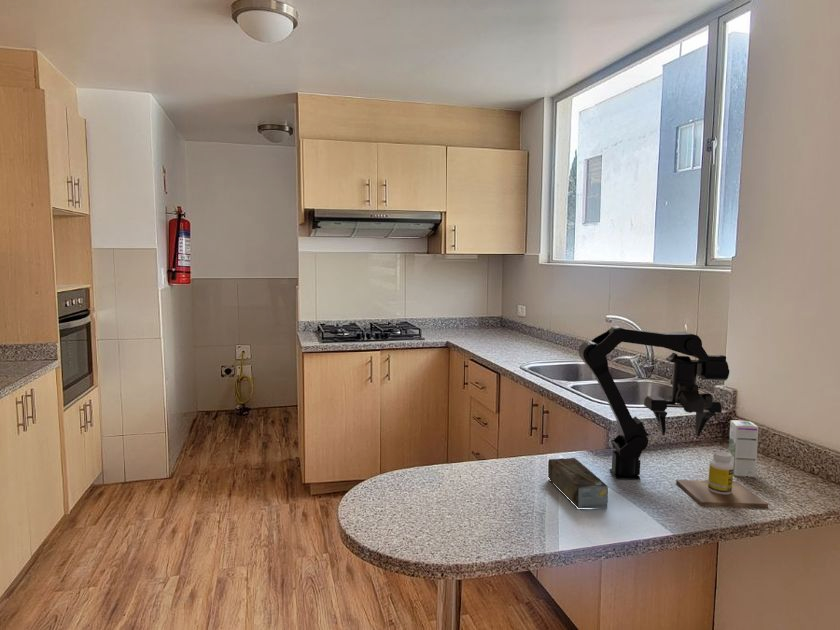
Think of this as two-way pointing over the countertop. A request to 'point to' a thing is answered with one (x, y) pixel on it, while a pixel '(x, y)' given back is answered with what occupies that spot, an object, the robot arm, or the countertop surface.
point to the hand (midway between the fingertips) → (680, 435)
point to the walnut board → (707, 498)
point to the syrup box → (743, 447)
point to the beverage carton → (578, 483)
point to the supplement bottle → (721, 473)
